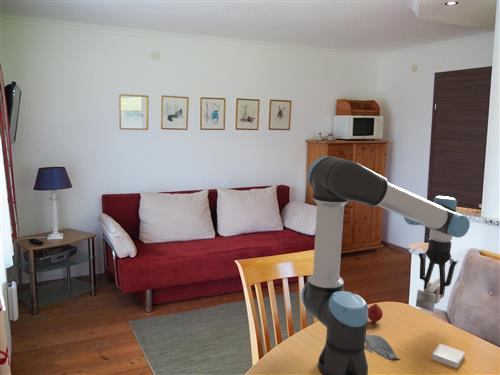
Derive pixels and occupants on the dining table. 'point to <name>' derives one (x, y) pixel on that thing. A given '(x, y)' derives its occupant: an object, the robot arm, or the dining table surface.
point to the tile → (448, 355)
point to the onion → (374, 313)
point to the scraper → (428, 296)
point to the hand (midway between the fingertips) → (432, 300)
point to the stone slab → (379, 346)
